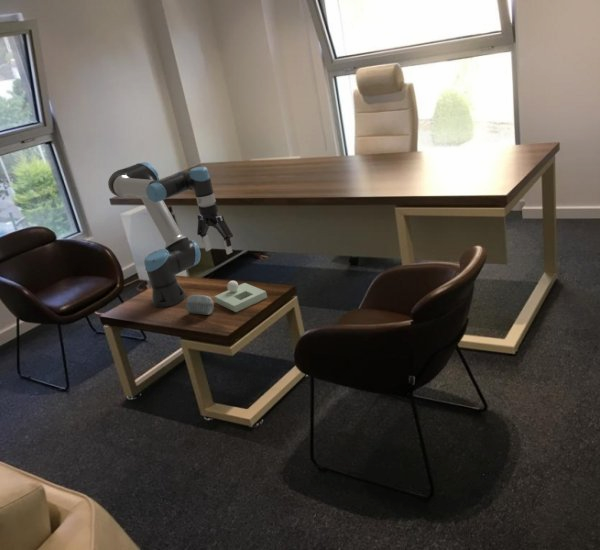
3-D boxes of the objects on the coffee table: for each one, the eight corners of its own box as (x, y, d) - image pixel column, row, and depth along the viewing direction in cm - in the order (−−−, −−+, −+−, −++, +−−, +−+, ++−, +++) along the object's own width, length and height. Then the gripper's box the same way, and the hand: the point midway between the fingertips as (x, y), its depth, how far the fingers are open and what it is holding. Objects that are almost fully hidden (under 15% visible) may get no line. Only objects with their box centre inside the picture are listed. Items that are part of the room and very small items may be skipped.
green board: (215, 302, 262) (214, 296, 261) (246, 288, 270) (244, 282, 269) (236, 312, 248) (234, 306, 247) (267, 297, 256) (265, 291, 254)
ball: (226, 292, 262) (223, 282, 261) (236, 288, 265) (233, 277, 263) (232, 294, 258) (229, 284, 257) (241, 290, 261) (239, 280, 259)
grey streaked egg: (177, 310, 254) (184, 288, 252) (193, 310, 261) (199, 289, 260) (199, 322, 246) (206, 299, 245) (215, 321, 254) (221, 299, 252)
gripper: (181, 205, 252) (193, 252, 260) (220, 209, 235) (232, 258, 244) (194, 200, 257) (206, 245, 265) (233, 202, 240) (245, 251, 248)
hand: (219, 251), depth 254 cm, fingers open, 13 cm apart
